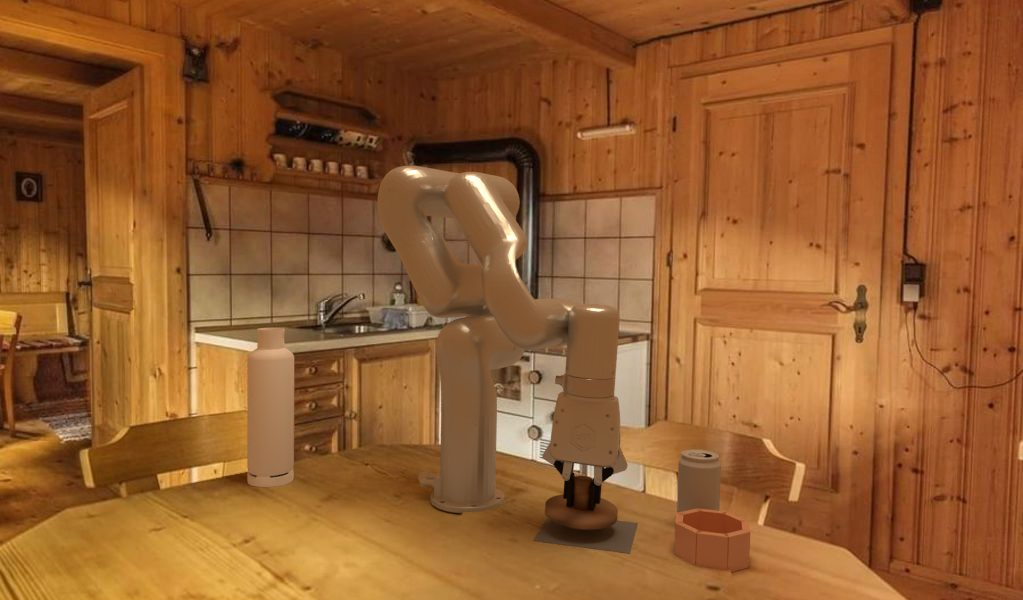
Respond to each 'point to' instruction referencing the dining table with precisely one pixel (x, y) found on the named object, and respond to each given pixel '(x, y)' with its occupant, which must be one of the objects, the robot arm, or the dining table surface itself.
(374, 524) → the dining table surface
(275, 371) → the bottle
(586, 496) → the lid
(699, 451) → the beverage can
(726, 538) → the bowl
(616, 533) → the mat
